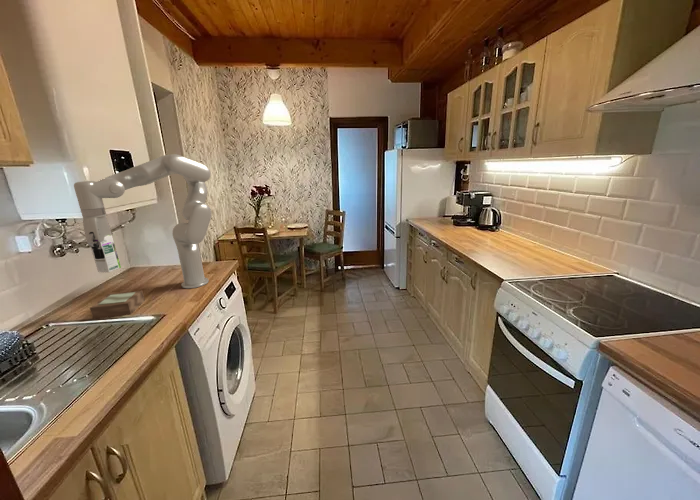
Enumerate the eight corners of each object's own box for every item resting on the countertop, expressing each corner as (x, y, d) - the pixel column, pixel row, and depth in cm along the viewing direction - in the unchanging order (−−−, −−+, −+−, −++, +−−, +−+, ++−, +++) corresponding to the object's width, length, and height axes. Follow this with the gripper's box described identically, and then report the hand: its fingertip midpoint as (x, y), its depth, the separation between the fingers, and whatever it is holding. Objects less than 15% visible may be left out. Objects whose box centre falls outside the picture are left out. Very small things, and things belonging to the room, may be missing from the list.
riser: (110, 304, 144) (107, 293, 142) (144, 300, 146) (142, 289, 144) (93, 319, 130) (89, 307, 129) (130, 314, 133) (127, 302, 131)
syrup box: (109, 272, 130) (99, 238, 126) (97, 272, 131) (87, 238, 127) (121, 267, 135) (112, 234, 131) (109, 267, 136) (100, 234, 132)
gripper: (95, 210, 134) (106, 251, 139) (69, 217, 118) (82, 263, 123) (115, 209, 135) (125, 249, 140) (91, 215, 119) (104, 261, 124)
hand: (105, 255), depth 131 cm, fingers closed on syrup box, 7 cm apart
